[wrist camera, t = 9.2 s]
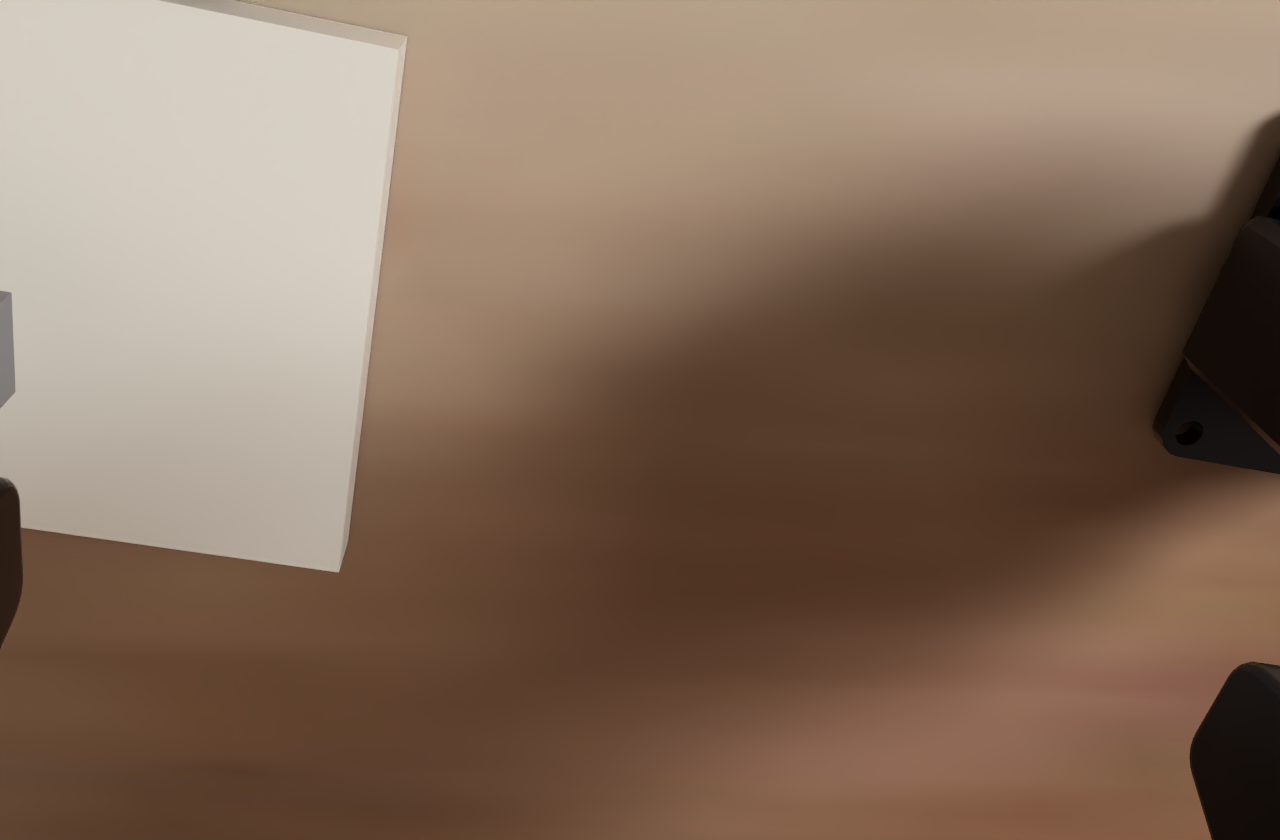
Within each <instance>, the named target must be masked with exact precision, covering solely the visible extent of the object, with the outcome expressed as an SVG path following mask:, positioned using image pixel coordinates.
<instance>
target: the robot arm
mask: <svg viewBox="0 0 1280 840" xmlns="http://www.w3.org/2000/svg"><path fill="white" fill-rule="evenodd" d="M1183 354H1184V358H1183V361H1182V363H1181V365H1180V367H1179V369H1178V371H1177V373H1176V375H1175V377H1174V379H1173V381H1172V384H1171V386H1170V388H1169V390H1168V392H1167V394H1166V396H1165V398H1164V400H1163V402H1162V404H1161V407H1160V409H1159V411H1158V413H1157V415H1156V417H1155V420H1154V424H1153V433H1154V436H1155V437H1156V439H1157V440H1158V441H1159V442H1160V443H1161V444H1162V445H1163V447H1164V448H1165V449H1166V450H1167V451H1168V452H1169V453H1170V454H1173V455H1175V456H1178V457H1184V458H1189V459H1195V460H1201V461H1207V462H1212V463H1218V464H1224V465H1230V466H1236V467H1241V468H1247V469H1253V470H1259V471H1265V472H1270V473H1276V474H1280V158H1279V160H1278V162H1277V164H1276V166H1275V168H1274V170H1273V172H1272V174H1271V177H1270V179H1269V181H1268V183H1267V185H1266V187H1265V189H1264V191H1263V193H1262V195H1261V197H1260V200H1259V202H1258V204H1257V206H1256V208H1255V210H1254V212H1253V214H1252V216H1251V218H1250V220H1249V222H1248V223H1247V224H1246V225H1244V226H1243V227H1242V229H1241V230H1240V232H1239V235H1238V237H1237V239H1236V241H1235V243H1234V245H1233V247H1232V249H1231V251H1230V253H1229V256H1228V258H1227V260H1226V262H1225V264H1224V266H1223V268H1222V270H1221V272H1220V274H1219V277H1218V279H1217V281H1216V283H1215V285H1214V287H1213V289H1212V291H1211V293H1210V295H1209V298H1208V300H1207V302H1206V304H1205V306H1204V308H1203V310H1202V312H1201V314H1200V316H1199V318H1198V321H1197V323H1196V325H1195V327H1194V329H1193V331H1192V333H1191V335H1190V337H1189V339H1188V342H1187V344H1186V346H1185V348H1184V351H1183ZM1188 421H1193V424H1192V426H1191V427H1190V428H1189V430H1188V431H1186V432H1184V433H1182V434H1177V435H1176V431H1177V430H1178V428H1179V427H1180V426H1181V425H1182V424H1184V423H1186V422H1188ZM22 585H23V564H22V539H21V514H20V498H19V494H18V491H17V488H16V486H15V485H14V484H13V483H12V482H11V481H10V480H9V479H7V478H3V477H0V648H1V646H2V643H3V641H4V639H5V637H6V634H7V632H8V630H9V628H10V626H11V623H12V621H13V619H14V616H15V614H16V611H17V608H18V605H19V602H20V597H21V593H22ZM1190 767H1191V772H1192V776H1193V779H1194V782H1195V786H1196V789H1197V792H1198V795H1199V799H1200V802H1201V805H1202V809H1203V812H1204V815H1205V819H1206V822H1207V825H1208V828H1209V832H1210V835H1211V838H1212V840H1280V666H1279V665H1271V664H1264V663H1258V662H1248V663H1244V664H1241V665H1240V666H1238V667H1237V668H1236V669H1234V670H1233V671H1232V672H1231V674H1230V675H1229V676H1228V678H1227V680H1226V682H1225V683H1224V685H1223V687H1222V688H1221V690H1220V692H1219V694H1218V695H1217V697H1216V699H1215V701H1214V702H1213V704H1212V706H1211V707H1210V709H1209V711H1208V713H1207V714H1206V716H1205V718H1204V719H1203V721H1202V723H1201V725H1200V726H1199V728H1198V730H1197V732H1196V733H1195V735H1194V738H1193V740H1192V744H1191V748H1190Z"/></svg>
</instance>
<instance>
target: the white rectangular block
mask: <svg viewBox="0 0 1280 840" xmlns="http://www.w3.org/2000/svg"><path fill="white" fill-rule="evenodd" d="M406 44H407V36H403V35H398V34H394V33H389V32H384V31H379V30H374V29H369V28H365V27H360V26H355V25H350V24H345V23H340V22H336V21H331V20H326V19H321V18H316V17H312V16H307V15H302V14H297V13H292V12H287V11H283V10H278V9H273V8H268V7H263V6H259V5H254V4H249V3H244V2H239V1H234V0H0V477H3V478H7V479H9V480H10V481H11V482H12V483H13V484H14V485H15V486H16V488H17V491H18V494H19V498H20V514H21V528H28V529H35V530H42V531H49V532H56V533H63V534H70V535H77V536H84V537H91V538H98V539H105V540H113V541H120V542H127V543H134V544H141V545H148V546H155V547H162V548H169V549H176V550H183V551H190V552H198V553H205V554H212V555H219V556H226V557H233V558H240V559H247V560H254V561H261V562H268V563H275V564H282V565H290V566H297V567H304V568H311V569H318V570H325V571H332V572H339V570H340V567H341V563H342V560H343V557H344V553H345V550H346V547H347V543H348V538H349V529H350V521H351V512H352V504H353V495H354V487H355V478H356V469H357V461H358V452H359V444H360V435H361V427H362V418H363V410H364V401H365V393H366V384H367V376H368V367H369V359H370V350H371V342H372V333H373V325H374V316H375V308H376V299H377V291H378V282H379V274H380V265H381V257H382V248H383V240H384V231H385V223H386V214H387V206H388V197H389V189H390V180H391V172H392V163H393V154H394V146H395V137H396V129H397V120H398V112H399V103H400V95H401V86H402V78H403V69H404V61H405V52H406Z"/></svg>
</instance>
